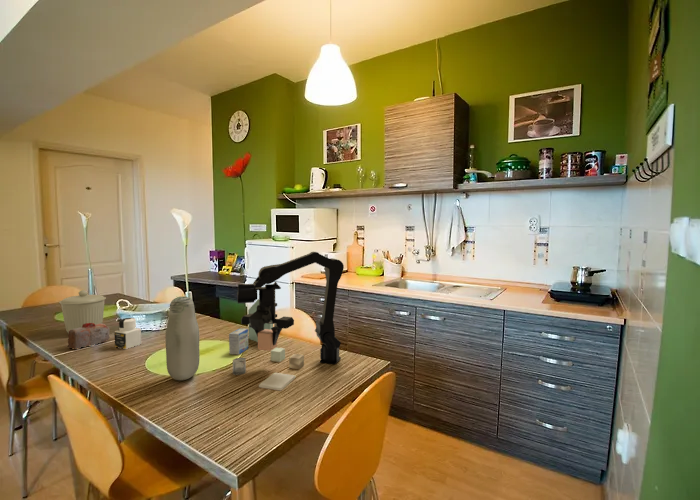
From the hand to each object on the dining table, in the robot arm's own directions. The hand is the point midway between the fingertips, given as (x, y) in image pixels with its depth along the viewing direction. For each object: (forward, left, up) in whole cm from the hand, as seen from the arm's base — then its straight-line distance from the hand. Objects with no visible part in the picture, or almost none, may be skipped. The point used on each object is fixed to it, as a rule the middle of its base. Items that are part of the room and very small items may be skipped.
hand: (267, 344), depth 123 cm
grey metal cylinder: (+8, +6, -9) cm, 13 cm away
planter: (+18, -28, -9) cm, 35 cm away
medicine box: (+21, -12, -9) cm, 26 cm away
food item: (+88, +1, -9) cm, 89 cm away
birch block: (-9, -5, -9) cm, 14 cm away
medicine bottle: (+71, -3, -9) cm, 72 cm away
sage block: (+1, -9, -9) cm, 13 cm away
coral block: (0, 0, -1) cm, 1 cm away
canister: (+109, -11, -9) cm, 110 cm away
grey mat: (-9, +9, -9) cm, 16 cm away
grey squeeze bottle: (+23, +16, -9) cm, 29 cm away
